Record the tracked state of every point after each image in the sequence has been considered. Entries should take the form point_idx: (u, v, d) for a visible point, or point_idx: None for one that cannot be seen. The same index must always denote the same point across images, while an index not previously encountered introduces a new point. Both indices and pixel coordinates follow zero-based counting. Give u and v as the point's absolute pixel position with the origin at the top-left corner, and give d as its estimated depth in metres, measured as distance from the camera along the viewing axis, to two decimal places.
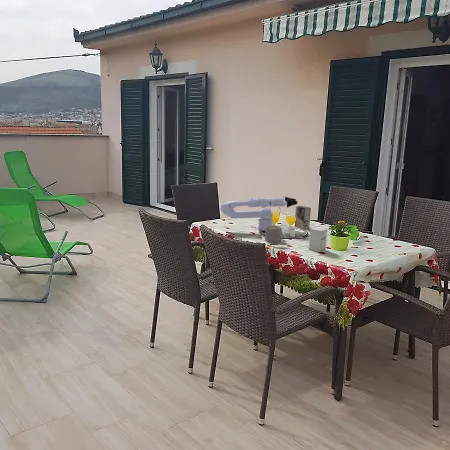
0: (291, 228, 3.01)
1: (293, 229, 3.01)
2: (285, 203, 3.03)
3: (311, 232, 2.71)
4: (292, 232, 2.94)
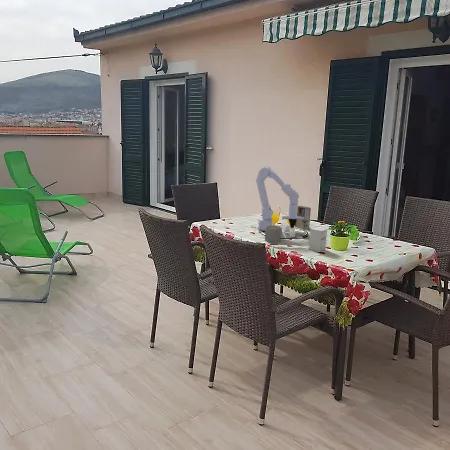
0: (291, 228, 3.01)
1: (293, 229, 3.01)
2: None
3: (311, 232, 2.71)
4: (292, 232, 2.94)
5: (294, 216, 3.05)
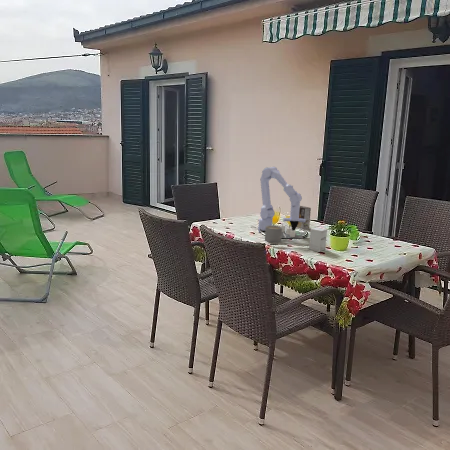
0: (289, 228, 3.01)
1: (291, 229, 3.01)
2: (283, 219, 3.01)
3: (311, 232, 2.71)
4: (292, 232, 2.94)
5: (296, 218, 2.98)
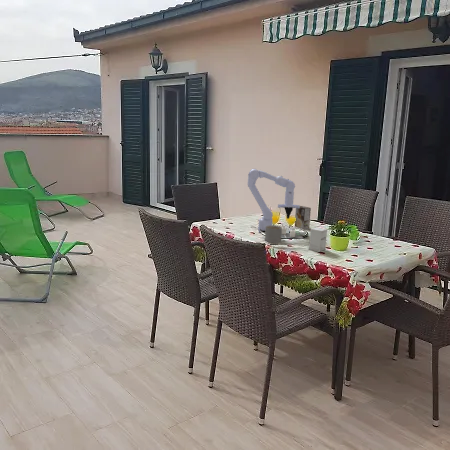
0: (283, 228, 3.01)
1: (285, 229, 3.01)
2: (278, 206, 3.11)
3: (311, 232, 2.71)
4: (292, 232, 2.94)
5: (290, 204, 3.08)
